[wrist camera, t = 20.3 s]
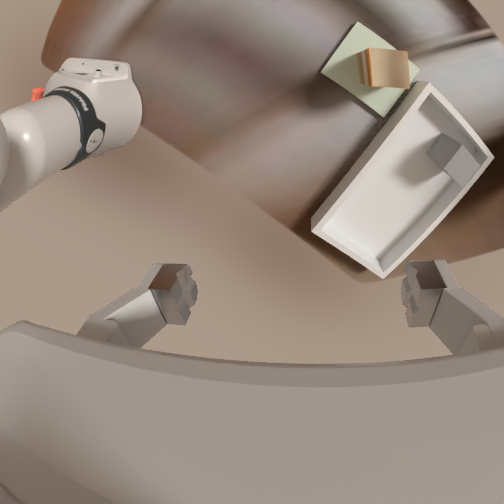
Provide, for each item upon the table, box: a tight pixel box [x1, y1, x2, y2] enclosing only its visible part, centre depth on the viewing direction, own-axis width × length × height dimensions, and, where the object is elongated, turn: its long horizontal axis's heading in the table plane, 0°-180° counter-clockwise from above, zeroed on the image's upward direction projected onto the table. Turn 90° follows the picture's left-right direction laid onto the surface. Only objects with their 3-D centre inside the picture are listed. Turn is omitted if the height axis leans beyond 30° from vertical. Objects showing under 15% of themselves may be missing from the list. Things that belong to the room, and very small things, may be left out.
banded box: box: [356, 48, 410, 89], centre depth 28 cm, size 5×5×9 cm
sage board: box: [321, 22, 420, 118], centre depth 32 cm, size 11×10×1 cm
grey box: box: [426, 133, 480, 188], centre depth 33 cm, size 4×4×7 cm
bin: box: [311, 81, 494, 279], centre depth 39 cm, size 16×29×4 cm, turn 151°
